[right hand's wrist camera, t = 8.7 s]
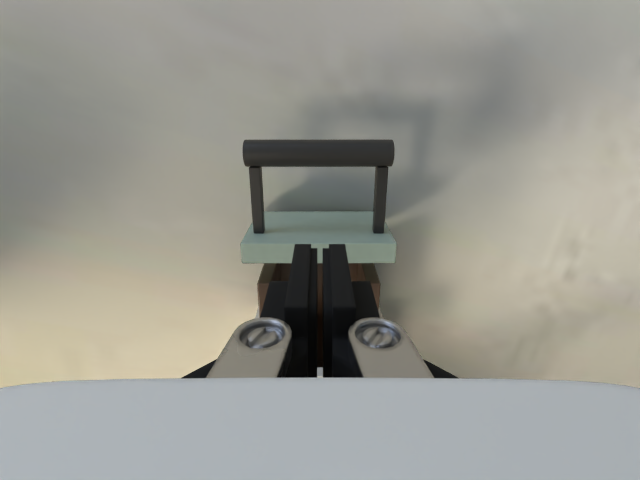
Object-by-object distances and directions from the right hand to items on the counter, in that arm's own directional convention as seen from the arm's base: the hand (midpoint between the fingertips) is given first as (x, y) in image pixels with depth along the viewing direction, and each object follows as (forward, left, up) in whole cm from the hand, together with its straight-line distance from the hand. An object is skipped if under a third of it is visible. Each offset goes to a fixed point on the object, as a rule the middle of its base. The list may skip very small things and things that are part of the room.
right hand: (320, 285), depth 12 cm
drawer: (-5, -2, -13) cm, 14 cm away
